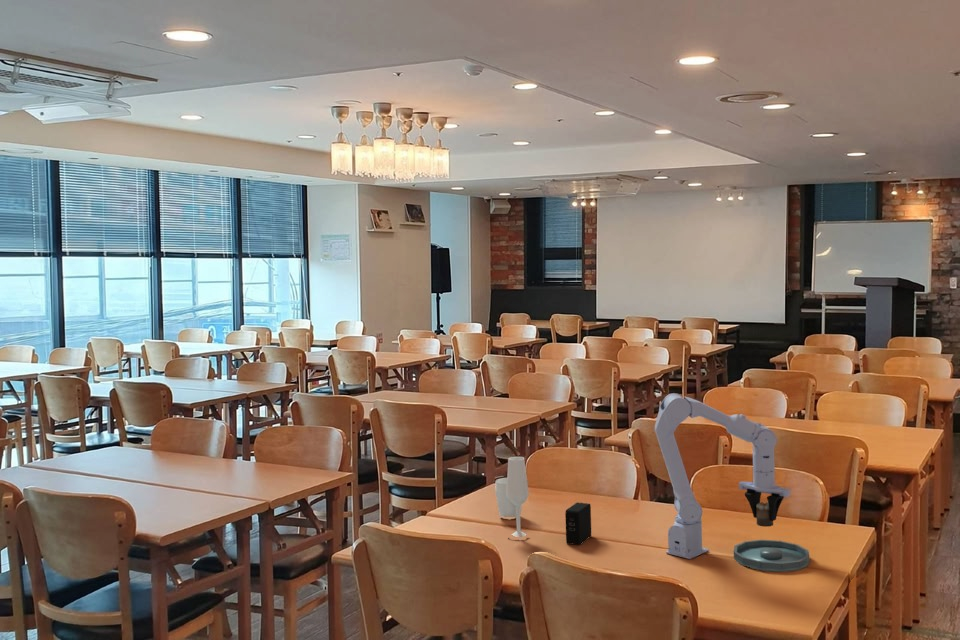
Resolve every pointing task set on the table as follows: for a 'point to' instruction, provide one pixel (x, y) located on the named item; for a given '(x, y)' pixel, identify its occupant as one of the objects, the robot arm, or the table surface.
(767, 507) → the brown ball-rimmed cylinder
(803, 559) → the round groove tray
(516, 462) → the champagne flute
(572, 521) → the electronic device
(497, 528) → the table surface
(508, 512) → the cup
